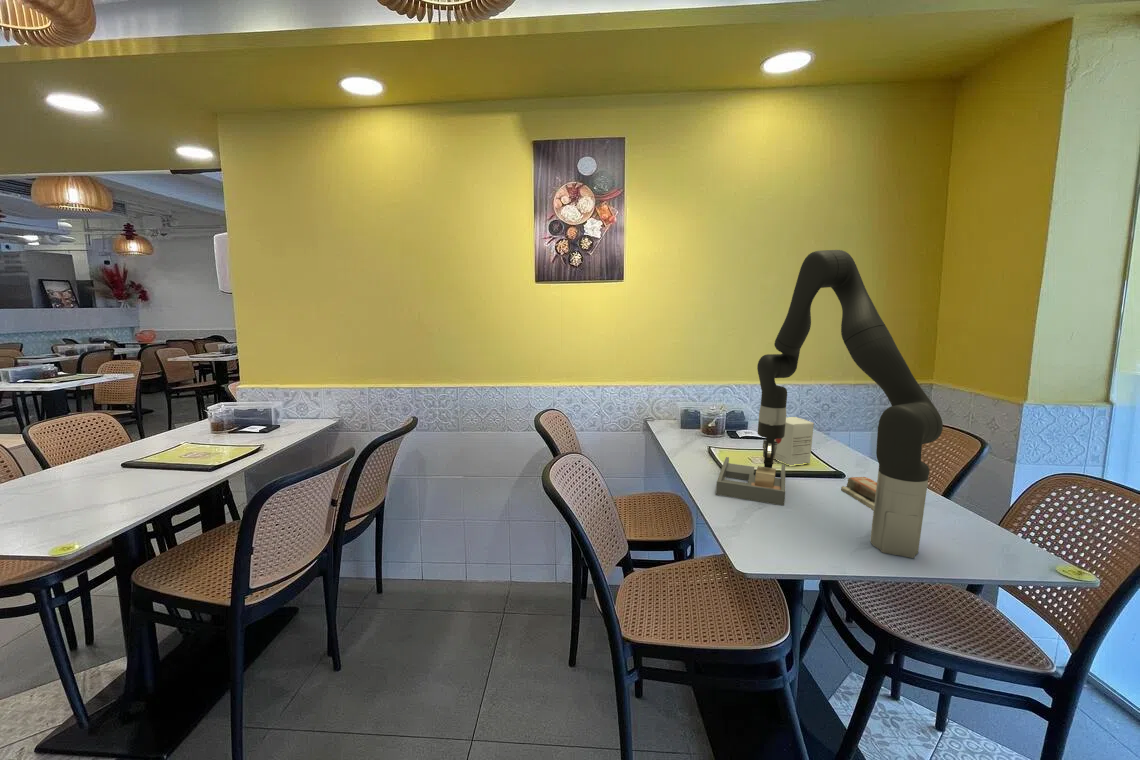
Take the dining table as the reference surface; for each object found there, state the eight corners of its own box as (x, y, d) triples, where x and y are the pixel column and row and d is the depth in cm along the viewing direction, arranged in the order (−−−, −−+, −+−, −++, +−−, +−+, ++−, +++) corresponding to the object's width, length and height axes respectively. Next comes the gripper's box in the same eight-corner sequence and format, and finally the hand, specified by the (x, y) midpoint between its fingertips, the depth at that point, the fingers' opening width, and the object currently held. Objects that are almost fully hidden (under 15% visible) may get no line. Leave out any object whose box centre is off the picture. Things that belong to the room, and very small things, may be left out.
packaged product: (840, 475, 144) (872, 474, 145) (839, 491, 145) (870, 490, 146) (884, 500, 126) (920, 499, 127) (882, 517, 127) (918, 516, 128)
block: (773, 488, 140) (774, 474, 139) (754, 485, 142) (755, 472, 141) (774, 481, 145) (775, 468, 145) (757, 478, 147) (757, 465, 147)
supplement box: (770, 459, 172) (773, 417, 170) (791, 456, 175) (794, 416, 172) (789, 467, 164) (793, 424, 161) (810, 464, 166) (814, 422, 164)
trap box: (784, 505, 133) (785, 491, 132) (715, 494, 140) (716, 481, 139) (784, 476, 155) (785, 464, 154) (725, 468, 162) (725, 457, 161)
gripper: (759, 414, 153) (755, 467, 156) (757, 424, 141) (752, 481, 144) (785, 417, 150) (781, 470, 153) (785, 427, 138) (780, 485, 141)
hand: (767, 475), depth 148 cm, fingers closed
